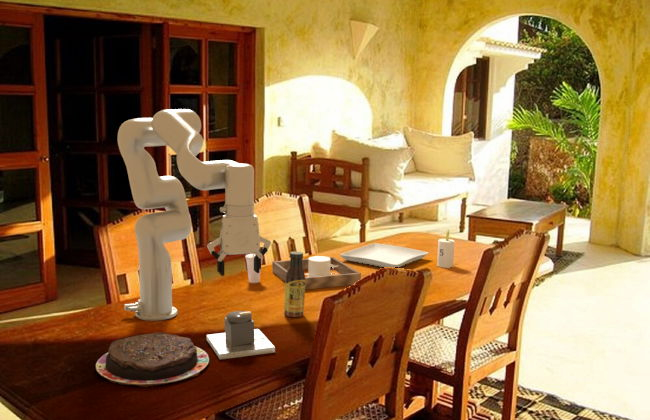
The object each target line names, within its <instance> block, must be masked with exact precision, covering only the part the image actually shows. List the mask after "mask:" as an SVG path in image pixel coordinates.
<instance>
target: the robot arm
mask: <svg viewBox="0 0 650 420" xmlns="http://www.w3.org/2000/svg"><path fill="white" fill-rule="evenodd" d="M200 118H201V117H200V116H199V115H198V114H197V113H196V111H194V110H191V109H189V108H187V109H186V108H183V109H182V108H178V109H176V108H175V109H172V108H171V109H167V108H166V109H161V110H160V111H157V112H156V113H155V114H154V115H153V117H137V118H132V119H128V120H126V121H124V122H123V123H121V125H120V126H119V129H118V132H117V146H118V149H119V152H120V155H121V157H122V158H123V162H124V164H125V166H126V171H127V175H128V181H129V186H130V190H131V195H132V199H133V202H134V204H135V206H136V207H137V208H138V209H141V210H151V209H152V210H153V209H161V208H164V209H165V211H159V212H157V211H156V212H151V213H146V214H144V215H142V216H140V217H138V218H137V220H136V221H135V224H134V234H135V238H136V243H137V251H138V269H139V270H138V272H139V299H137V302H136V301H135V302H134V303H124V305H123V306H124V311H129V312H134V316H135V317H136V318H137V319H139V320H143V321H148V322H150V321H152V322H157V321H165V320H169V319H172V318H174V317H176V316H177V314H178V309H177V308H176V307H175V306H173V287H172V286H173V283H172V280H173V279H172V276H173V275H172V274H173V273H172V272H173V271H172V257H171V253H170V252H169V251H168V249H167V247H166V246H165V244H168V243H172V242H178V241H183V240H185V239H187V238H189V236H190V234H191V230H192V221H191V220H192V219H191V215H190V211H189V205H188V201H187V198H186V197H187V196H186V192H185V189H184V186H183V184H182V182H181V181H180V180H179V179H178V178H177V177H175V176H174V175H173V176H172V175H163V176H159V174H158V171H157V166H156V162H155V160H154V158H153V157H152V155H151V154H150V153H149V152H148V151H147V150H146V149H145V147H162V146H164V147H165V146H168V147H169V149H171V150H172V151H173V152H174V153H175V154H176V165H177V168H178V171H179V173H180V175H181V176H182V177H183V178H184V180H186V181H187V182H188V183H189V184H190V185H191V186H192V187H193V188H195V189H197V190H200V191H210V190H219V189H225V190H224V191H225V192H224V193H225V197H224V205H223V206H220V207H219V212H220V213H224V215H222V218H221V223H220V235H219V237H218V238H216V239H214V240H212V241H211V242H209V243H207V245H206V247H207V249H208V251H209V253H210V254H211V256H213V258H215V259H216V260H217V261H216V267H217V268H216V271H217V273H219V275H220V276H222V277H224V276H225V261H224V259H225V258H226V256H227V255H228V256H232V255H248V254H253V253H254V254H255V256H254V271H255V272H256V273H259V269H261V270H262V264H261V258H263V259H264V256H265V254H267V253H268V251H269V248H270V246H271V244H272V241H271V240H269V239H267V238H265V237H263V236H260V226H259V219H258V216H257V214H255V168H254V166H253V165H251V164H249V163H240V162H237V161H234V160H231V159H222V160H221V159H220V160H210V161H209V160H208V161H201V160H200V159H199V158H197V156H198V154H200V153H201V150H202V149H203V145H204V139H203V136H202V134H200V132H201V130H202V122H201V119H200ZM261 243H263V247H261ZM217 246H219V249H220V250H219V251H218V252H217V251H216V250H215V247H217Z"/></svg>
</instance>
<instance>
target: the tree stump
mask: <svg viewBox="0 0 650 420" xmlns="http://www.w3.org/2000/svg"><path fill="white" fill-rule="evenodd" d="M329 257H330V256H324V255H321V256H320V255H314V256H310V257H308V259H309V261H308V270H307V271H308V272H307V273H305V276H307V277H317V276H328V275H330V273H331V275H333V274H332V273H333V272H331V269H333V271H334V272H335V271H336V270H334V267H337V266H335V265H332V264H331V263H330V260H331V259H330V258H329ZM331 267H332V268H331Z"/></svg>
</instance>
